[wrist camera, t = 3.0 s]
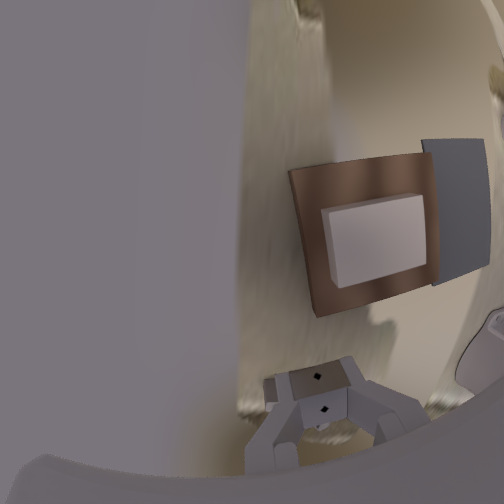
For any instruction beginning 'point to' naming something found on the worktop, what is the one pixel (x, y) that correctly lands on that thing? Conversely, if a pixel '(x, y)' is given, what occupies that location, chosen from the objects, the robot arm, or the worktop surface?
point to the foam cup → (502, 127)
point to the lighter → (272, 399)
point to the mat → (461, 205)
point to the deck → (352, 191)
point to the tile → (374, 238)
